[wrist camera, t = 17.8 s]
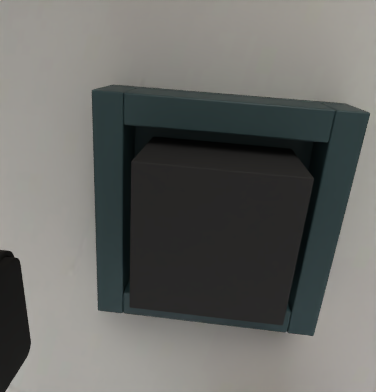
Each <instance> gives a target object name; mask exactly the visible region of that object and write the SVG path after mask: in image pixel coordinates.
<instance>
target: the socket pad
mask: <svg viewBox="0 0 376 392" xmlns="http://www.w3.org/2000/svg"><path fill="white" fill-rule="evenodd" d="M92 116H93V151H94V186H95V221H96V256H97V292H98V310H99V311H108V312H116V313H123V312H124V313H127V314H135V315H143V316H152V317H160V318H169V319H177V320H185V321H194V322H202V323H211V324H219V325H227V326H236V327H244V328H253V329H261V330H269V331H278V332H288V333H293V334H301V335H310V336H313V335H314V332H315V328H316V324H317V320H318V316H319V312H320V308H321V305H322V301H323V297H324V293H325V289H326V285H327V281H328V277H329V273H330V269H331V265H332V261H333V257H334V253H335V250H336V246H337V242H338V238H339V234H340V230H341V226H342V222H343V218H344V214H345V210H346V206H347V202H348V198H349V194H350V191H351V187H352V183H353V179H354V175H355V171H356V167H357V163H358V159H359V155H360V151H361V147H362V143H363V139H364V136H365V132H366V128H367V124H368V120H369V116H370V113H369V112H366V111H364V110H361V109H359V108H356V107H353V106H350V105H348V104H343V103H331V102H319V101H306V100H294V99H282V98H270V97H257V96H245V95H233V94H220V93H208V92H196V91H183V90H171V89H159V88H146V87H134V86H122V85H110V86H106V87H102V88H98V89H94V90H92ZM152 137H165V138H176V139H187V140H199V141H210V142H221V143H232V144H243V145H255V146H266V147H277V148H288V149H292V150H293V151H294V153H295V154H296V155H297V157H298V158H299V159H300V161H301V162H302V163H303V165H304V166H305V167H306V169H307V170H308V171H309V173H310V174H311V175H312V177H313V178H314V182H313V186H312V191H311V196H310V201H309V205H308V210H307V215H306V220H305V224H304V229H303V234H302V238H301V243H300V248H299V253H298V257H297V262H296V267H295V272H294V276H293V281H292V286H291V290H290V295H289V300H288V305H287V309H286V314H285V319H284V324H283V325H282V326H281V325H273V324H265V323H256V322H248V321H239V320H231V319H222V318H214V317H205V316H197V315H188V314H180V313H171V312H163V311H154V310H146V309H137V308H130V220H131V162H132V160H133V159H134V158H135V157H136V156H137V154H138V153H139V152H140V151H141V150H142V149H143V148H144V146H145V145H146V144H147V143H148V142H149V141H150V140H151V138H152Z"/></svg>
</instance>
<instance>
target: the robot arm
mask: <svg viewBox="0 0 376 392" xmlns="http://www.w3.org/2000/svg"><path fill="white" fill-rule="evenodd" d="M30 345H31V339H30V332H29V325H28V317H27V310H26V302H25V295H24V287H23V280H22V272H21V265H20V261H19V259H18V258H14V255H13V253H12V252H10V251H5V250H0V392H5V391H6V389H7V388H8V386H9V385H10V383H11V381H12V380H13V378H14V377H15V375H16V374H17V372H18V370H19V369H20V367H21V366H22V364H23V362H24V361H25V359H26V358H27V356H28V353H29V350H30Z"/></svg>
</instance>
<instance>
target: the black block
mask: <svg viewBox="0 0 376 392" xmlns="http://www.w3.org/2000/svg"><path fill="white" fill-rule="evenodd" d="M313 182H314V178H313V177H312V175H311V174H310V173H309V171H308V170H307V169H306V167H305V166H304V165H303V163H302V162H301V161H300V159H299V158H298V157H297V155H296V154H295V153H294V151H293V150H292V149H288V148H277V147H266V146H255V145H243V144H232V143H221V142H210V141H199V140H187V139H176V138H165V137H152V138H151V140H150V141H149V142H148V143H147V144H146V145H145V146H144V148H143V149H142V150H141V151H140V152H139V153H138V154H137V156H136V157H135V158H134V159H133V160H132V162H131V220H130V308H137V309H146V310H154V311H163V312H171V313H180V314H188V315H197V316H205V317H214V318H222V319H231V320H239V321H248V322H256V323H265V324H273V325H281V326H282V325H283V324H284V319H285V314H286V309H287V305H288V300H289V295H290V290H291V286H292V281H293V276H294V272H295V267H296V262H297V257H298V253H299V248H300V243H301V238H302V234H303V229H304V224H305V220H306V215H307V210H308V205H309V201H310V196H311V191H312V186H313Z"/></svg>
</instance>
